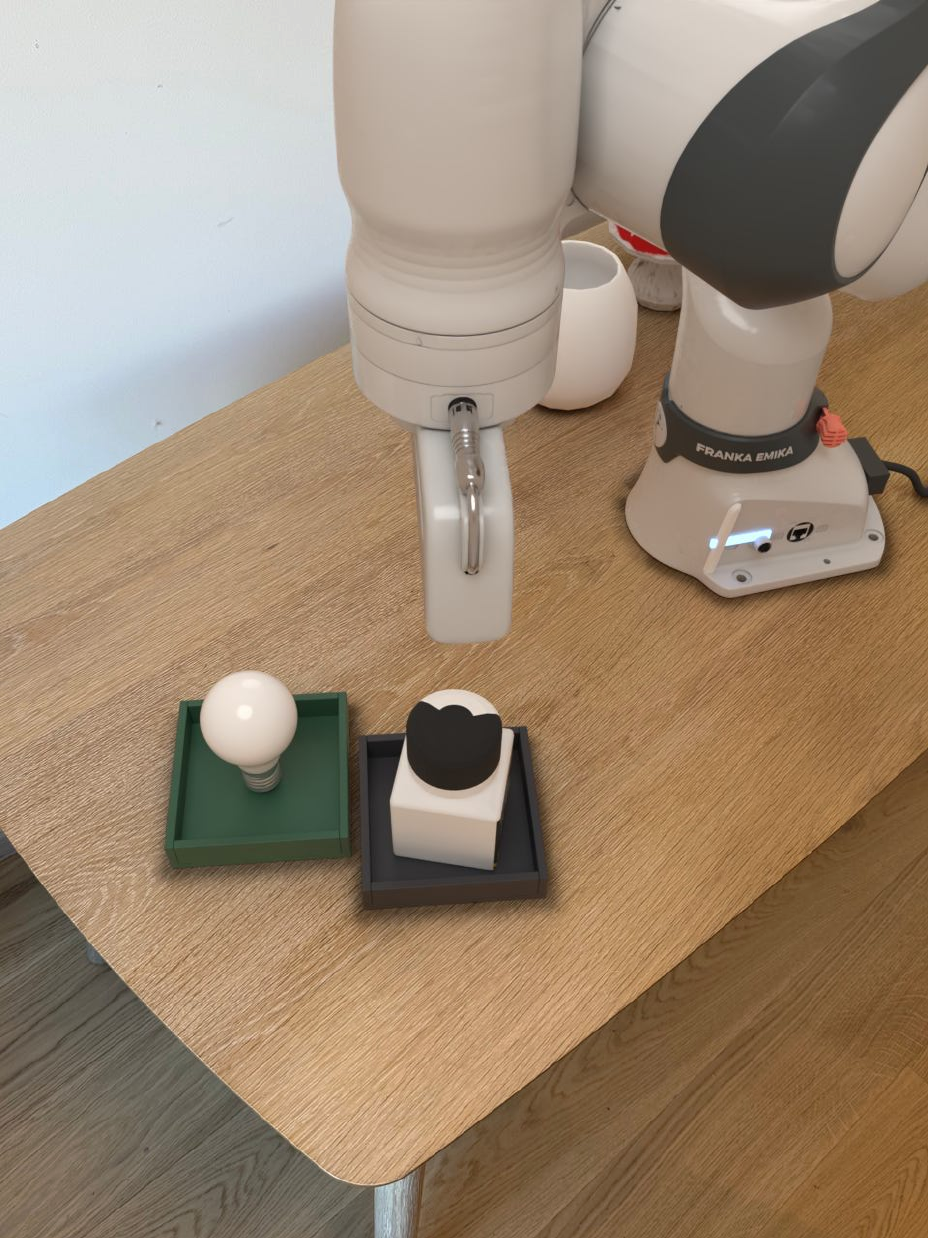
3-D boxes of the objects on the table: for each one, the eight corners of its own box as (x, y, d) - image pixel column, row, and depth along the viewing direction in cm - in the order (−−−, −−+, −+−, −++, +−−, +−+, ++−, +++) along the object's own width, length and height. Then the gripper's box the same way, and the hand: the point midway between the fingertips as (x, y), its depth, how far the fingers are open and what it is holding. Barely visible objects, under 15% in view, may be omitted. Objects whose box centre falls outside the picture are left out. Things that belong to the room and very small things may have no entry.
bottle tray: (524, 747, 82) (526, 725, 80) (545, 898, 74) (548, 878, 72) (360, 756, 81) (358, 735, 79) (364, 910, 73) (361, 891, 71)
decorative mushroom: (666, 348, 114) (691, 214, 103) (571, 290, 121) (584, 159, 109) (750, 299, 120) (783, 167, 109) (655, 246, 127) (677, 117, 116)
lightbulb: (295, 826, 77) (277, 737, 68) (207, 813, 77) (178, 722, 69) (317, 750, 81) (303, 657, 72) (233, 738, 81) (209, 645, 73)
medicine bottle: (495, 873, 74) (503, 778, 65) (392, 857, 75) (385, 760, 66) (509, 784, 79) (519, 683, 70) (412, 769, 80) (409, 668, 71)
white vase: (655, 382, 111) (676, 262, 100) (574, 445, 104) (588, 324, 94) (552, 329, 116) (563, 210, 106) (469, 386, 110) (472, 265, 99)
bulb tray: (348, 713, 84) (346, 691, 81) (351, 857, 76) (348, 837, 74) (186, 722, 83) (179, 700, 81) (171, 869, 75) (163, 849, 73)
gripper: (562, 499, 40) (536, 720, 50) (504, 208, 53) (493, 431, 64) (388, 507, 39) (398, 728, 50) (373, 211, 53) (384, 435, 63)
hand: (451, 559), depth 57 cm, fingers open, 8 cm apart
